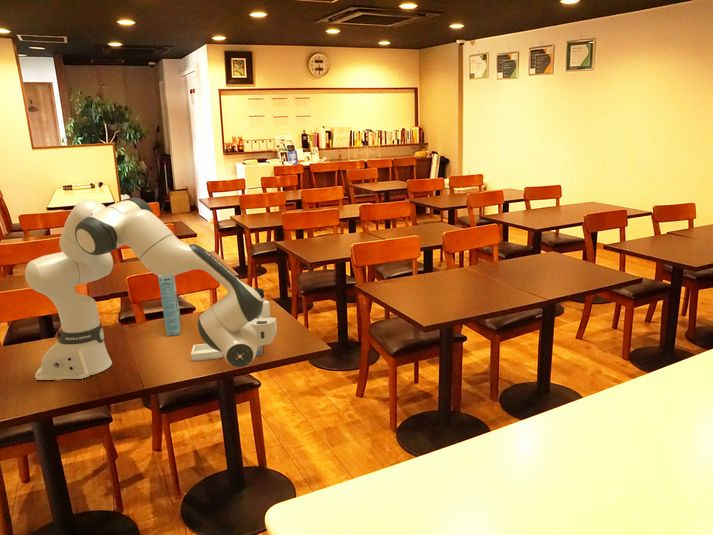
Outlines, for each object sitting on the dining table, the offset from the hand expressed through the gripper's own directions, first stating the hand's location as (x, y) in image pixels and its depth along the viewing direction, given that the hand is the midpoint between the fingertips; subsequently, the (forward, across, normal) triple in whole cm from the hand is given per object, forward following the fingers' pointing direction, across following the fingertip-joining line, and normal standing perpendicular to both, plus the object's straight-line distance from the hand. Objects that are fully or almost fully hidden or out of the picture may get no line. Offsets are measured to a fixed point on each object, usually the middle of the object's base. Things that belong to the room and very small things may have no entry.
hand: (243, 320), depth 182 cm
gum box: (+44, -29, -15) cm, 55 cm away
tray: (+13, -13, -16) cm, 24 cm away
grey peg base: (+13, 0, -15) cm, 20 cm away
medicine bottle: (+44, +3, -15) cm, 47 cm away
